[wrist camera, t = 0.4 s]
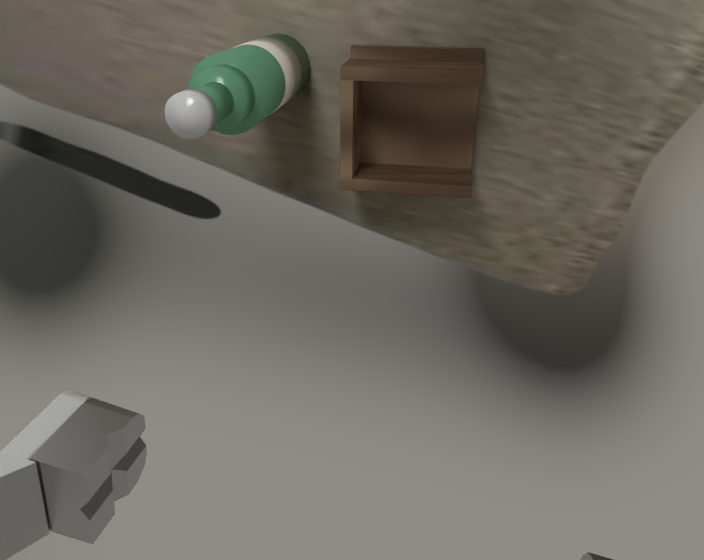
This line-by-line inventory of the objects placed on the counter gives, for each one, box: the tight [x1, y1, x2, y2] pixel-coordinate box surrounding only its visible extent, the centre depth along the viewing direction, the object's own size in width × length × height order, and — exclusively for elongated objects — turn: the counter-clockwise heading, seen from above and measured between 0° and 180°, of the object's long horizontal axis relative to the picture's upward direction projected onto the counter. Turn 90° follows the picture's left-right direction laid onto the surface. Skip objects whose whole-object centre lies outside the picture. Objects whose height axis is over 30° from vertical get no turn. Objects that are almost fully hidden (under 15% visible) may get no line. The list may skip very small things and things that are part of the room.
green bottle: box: [165, 34, 310, 139], centre depth 44 cm, size 6×6×21 cm
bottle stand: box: [340, 45, 484, 198], centre depth 51 cm, size 12×11×6 cm
